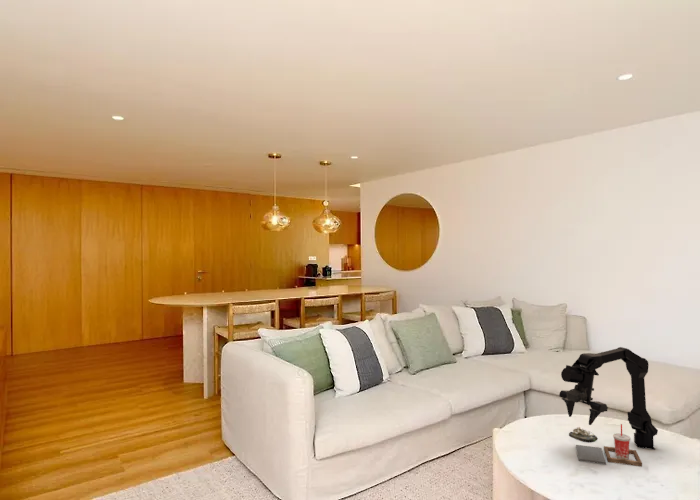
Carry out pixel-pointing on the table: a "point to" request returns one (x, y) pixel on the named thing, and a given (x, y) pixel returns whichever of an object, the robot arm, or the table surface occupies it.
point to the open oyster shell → (583, 435)
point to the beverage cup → (621, 445)
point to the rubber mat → (590, 454)
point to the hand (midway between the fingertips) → (579, 420)
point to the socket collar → (623, 461)
